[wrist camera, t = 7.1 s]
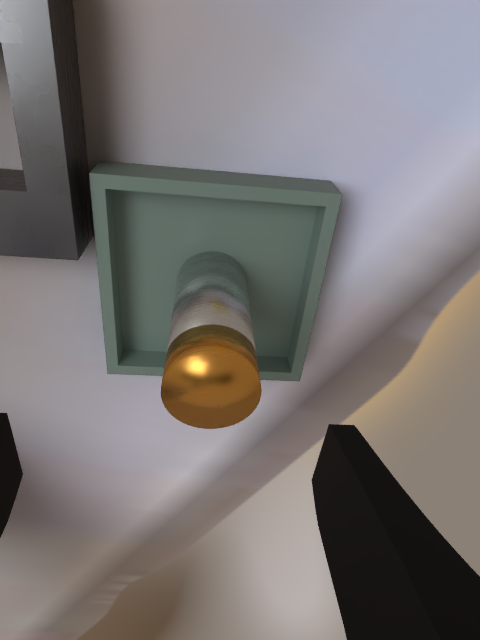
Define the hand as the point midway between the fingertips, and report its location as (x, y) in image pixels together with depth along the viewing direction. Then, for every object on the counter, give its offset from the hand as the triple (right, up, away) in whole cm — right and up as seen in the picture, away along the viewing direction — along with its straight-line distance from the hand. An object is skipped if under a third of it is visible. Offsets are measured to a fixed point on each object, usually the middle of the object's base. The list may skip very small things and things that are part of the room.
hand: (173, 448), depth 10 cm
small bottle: (0, +5, +9) cm, 10 cm away
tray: (0, +5, +9) cm, 10 cm away
